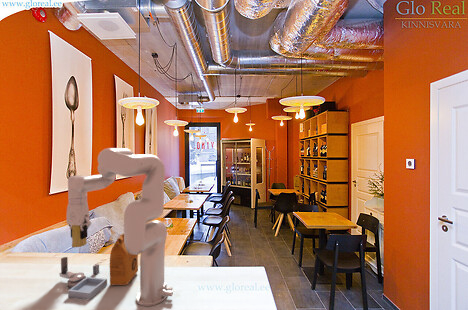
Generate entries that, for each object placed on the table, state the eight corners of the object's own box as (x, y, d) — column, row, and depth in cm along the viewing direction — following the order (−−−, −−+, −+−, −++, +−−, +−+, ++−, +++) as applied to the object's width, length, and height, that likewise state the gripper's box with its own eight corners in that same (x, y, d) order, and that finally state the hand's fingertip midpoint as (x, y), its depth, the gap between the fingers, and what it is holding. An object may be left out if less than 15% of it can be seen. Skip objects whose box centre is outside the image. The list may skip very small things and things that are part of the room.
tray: (107, 285, 101) (106, 279, 101) (89, 300, 91) (89, 293, 91) (87, 282, 102) (87, 276, 102) (68, 297, 92) (68, 290, 92)
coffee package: (141, 272, 111) (141, 229, 110) (126, 288, 99) (126, 239, 98) (122, 271, 112) (122, 228, 111) (106, 286, 100) (105, 238, 99)
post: (99, 272, 111) (99, 264, 110) (96, 274, 109) (96, 266, 109) (95, 272, 111) (95, 264, 111) (93, 274, 109) (92, 266, 109)
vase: (79, 248, 106) (78, 218, 105) (68, 247, 107) (67, 217, 107) (89, 242, 112) (88, 214, 111) (79, 241, 113) (78, 214, 113)
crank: (87, 276, 103) (87, 259, 103) (75, 283, 98) (74, 265, 97) (68, 271, 107) (68, 255, 107) (55, 278, 102) (55, 260, 101)
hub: (89, 280, 104) (89, 275, 104) (77, 289, 97) (77, 285, 97) (76, 278, 105) (76, 274, 105) (63, 287, 98) (63, 283, 98)
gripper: (57, 201, 108) (58, 238, 108) (83, 203, 103) (84, 242, 103) (73, 198, 115) (74, 232, 116) (98, 200, 110) (99, 236, 110)
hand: (79, 237), depth 109 cm, fingers closed on vase, 5 cm apart
